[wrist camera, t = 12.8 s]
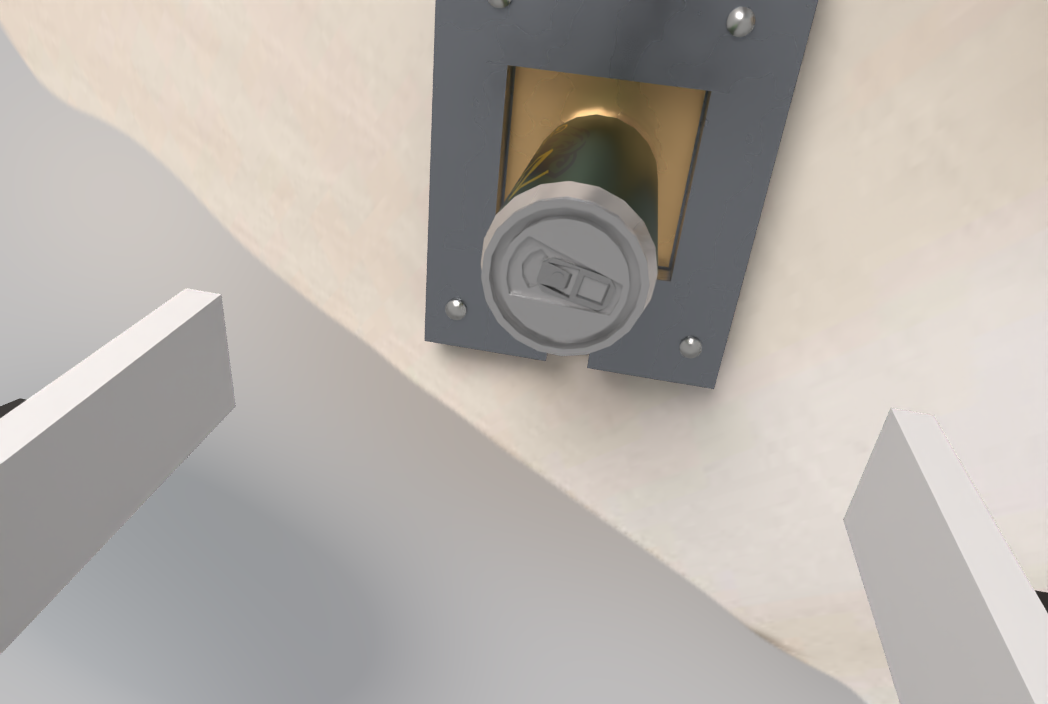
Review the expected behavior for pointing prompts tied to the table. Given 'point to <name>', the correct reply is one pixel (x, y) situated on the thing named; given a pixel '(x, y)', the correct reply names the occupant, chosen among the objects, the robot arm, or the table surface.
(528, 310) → the beer can
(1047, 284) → the table surface
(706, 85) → the chassis plate
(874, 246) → the table surface
